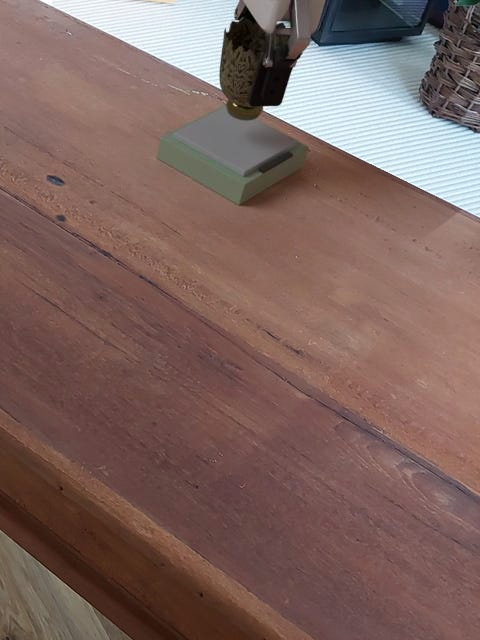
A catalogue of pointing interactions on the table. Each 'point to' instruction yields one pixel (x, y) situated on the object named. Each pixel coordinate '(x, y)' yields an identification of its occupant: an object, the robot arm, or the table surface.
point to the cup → (243, 65)
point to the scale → (232, 154)
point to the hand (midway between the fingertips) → (251, 82)
